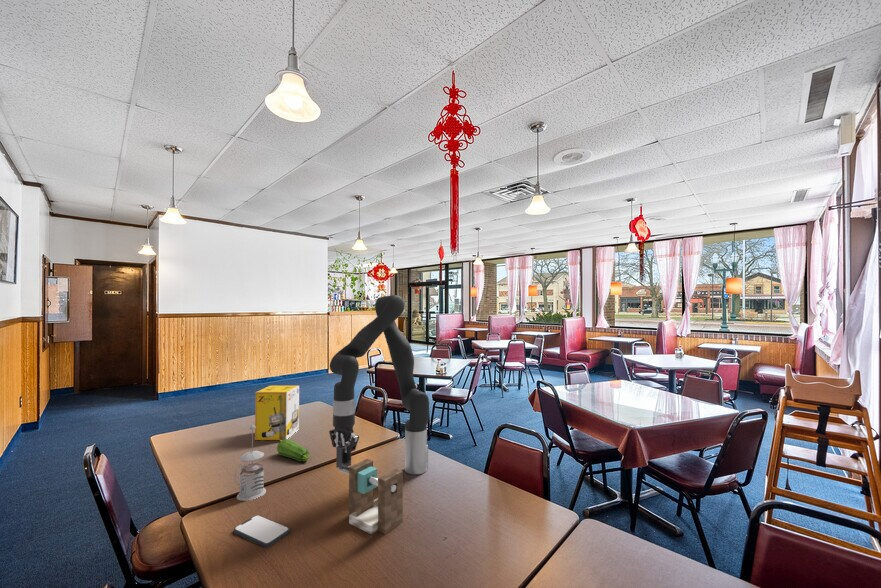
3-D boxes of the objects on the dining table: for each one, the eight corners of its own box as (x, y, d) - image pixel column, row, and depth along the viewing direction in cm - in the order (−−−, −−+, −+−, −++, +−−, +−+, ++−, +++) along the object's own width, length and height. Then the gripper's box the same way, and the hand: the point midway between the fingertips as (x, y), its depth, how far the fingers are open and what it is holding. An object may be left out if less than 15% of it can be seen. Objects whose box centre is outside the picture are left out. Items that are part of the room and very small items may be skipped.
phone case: (291, 533, 112) (257, 518, 119) (291, 528, 112) (257, 513, 119) (266, 550, 104) (231, 534, 111) (266, 545, 104) (231, 528, 111)
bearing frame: (342, 519, 117) (343, 469, 118) (372, 502, 128) (372, 456, 129) (379, 538, 108) (379, 484, 108) (407, 518, 118) (407, 468, 119)
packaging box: (286, 441, 187) (286, 392, 187) (254, 441, 187) (255, 392, 188) (298, 430, 203) (299, 385, 204) (270, 430, 203) (270, 385, 204)
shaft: (336, 472, 127) (336, 446, 127) (345, 468, 130) (345, 443, 130) (389, 494, 112) (389, 465, 112) (398, 489, 115) (398, 460, 115)
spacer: (357, 491, 119) (357, 472, 119) (370, 484, 124) (371, 466, 124) (363, 494, 117) (363, 475, 117) (377, 486, 122) (377, 468, 122)
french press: (272, 489, 137) (273, 422, 138) (246, 505, 126) (248, 432, 127) (252, 485, 140) (253, 420, 141) (225, 500, 129) (226, 429, 130)
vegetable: (284, 434, 173) (311, 443, 162) (290, 445, 175) (317, 455, 165) (271, 445, 167) (298, 455, 156) (277, 457, 170) (304, 468, 159)
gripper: (365, 412, 127) (365, 462, 127) (339, 406, 135) (339, 453, 135) (348, 418, 121) (348, 470, 120) (322, 411, 129) (322, 460, 129)
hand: (343, 461), depth 128 cm, fingers closed on shaft, 3 cm apart
